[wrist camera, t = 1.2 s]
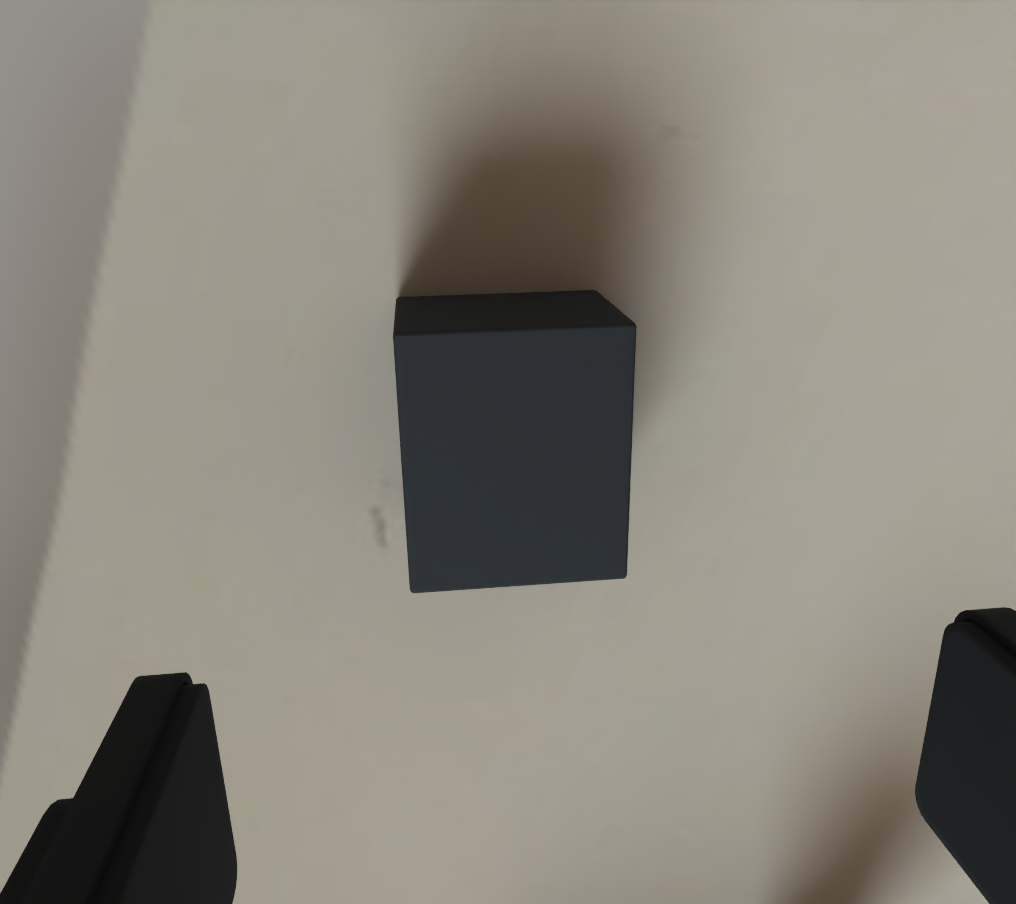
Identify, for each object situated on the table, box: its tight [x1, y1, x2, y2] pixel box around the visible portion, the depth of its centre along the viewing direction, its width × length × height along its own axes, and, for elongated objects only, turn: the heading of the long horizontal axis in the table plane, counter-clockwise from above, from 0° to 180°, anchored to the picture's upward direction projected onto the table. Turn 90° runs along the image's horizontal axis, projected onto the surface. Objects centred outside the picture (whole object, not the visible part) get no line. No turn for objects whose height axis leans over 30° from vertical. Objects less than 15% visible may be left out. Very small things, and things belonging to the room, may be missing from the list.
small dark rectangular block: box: [393, 290, 636, 593], centre depth 20 cm, size 6×5×4 cm
